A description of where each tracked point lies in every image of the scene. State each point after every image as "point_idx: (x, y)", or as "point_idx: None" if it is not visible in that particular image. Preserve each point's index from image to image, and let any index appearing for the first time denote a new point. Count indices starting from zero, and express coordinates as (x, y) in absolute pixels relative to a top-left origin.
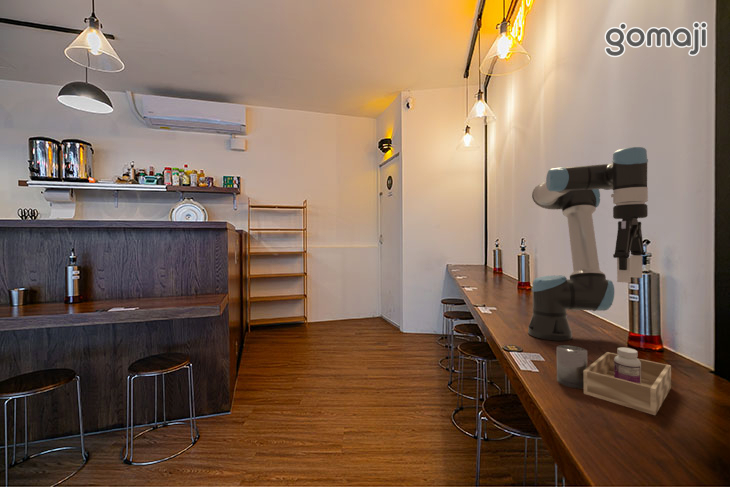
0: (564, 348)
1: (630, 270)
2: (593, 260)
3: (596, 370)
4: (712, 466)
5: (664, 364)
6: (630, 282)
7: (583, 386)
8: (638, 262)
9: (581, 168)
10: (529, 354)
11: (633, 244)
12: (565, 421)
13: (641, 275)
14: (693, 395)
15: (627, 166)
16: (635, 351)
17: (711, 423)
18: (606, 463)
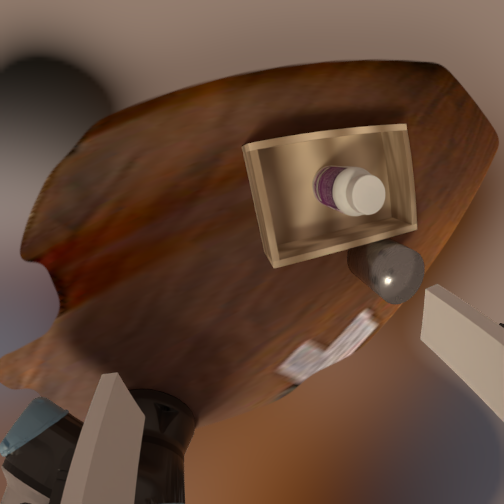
0: (406, 287)
1: (476, 323)
2: None
3: (365, 232)
4: (432, 69)
5: (253, 154)
6: (427, 288)
7: None
8: (102, 476)
9: None
10: (299, 370)
11: None
12: (463, 192)
13: (114, 385)
14: (244, 111)
15: None
16: (367, 178)
17: (340, 72)
18: (485, 137)
